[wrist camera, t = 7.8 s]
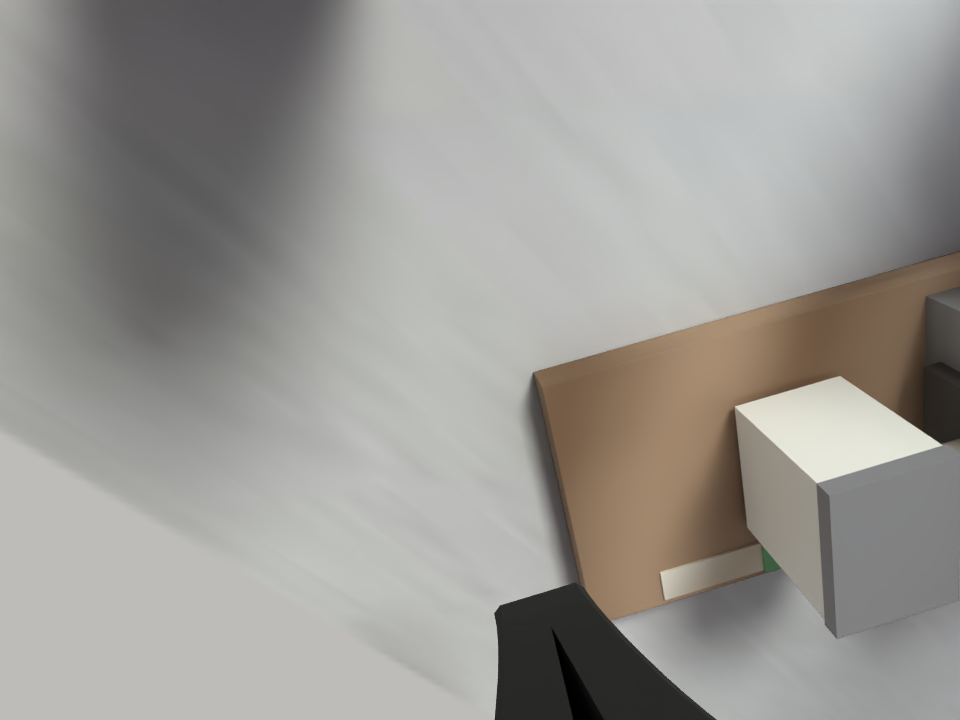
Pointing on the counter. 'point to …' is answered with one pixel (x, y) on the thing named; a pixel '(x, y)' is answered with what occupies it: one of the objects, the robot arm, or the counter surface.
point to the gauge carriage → (851, 503)
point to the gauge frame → (729, 424)
